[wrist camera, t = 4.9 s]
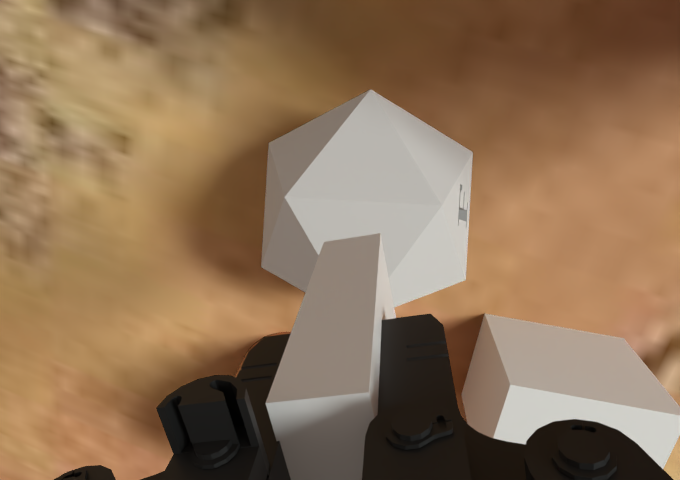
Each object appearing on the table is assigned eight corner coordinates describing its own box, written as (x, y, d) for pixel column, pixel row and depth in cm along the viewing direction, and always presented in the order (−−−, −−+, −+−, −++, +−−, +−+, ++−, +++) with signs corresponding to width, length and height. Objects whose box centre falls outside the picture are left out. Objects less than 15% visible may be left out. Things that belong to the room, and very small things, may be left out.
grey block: (461, 393, 28) (479, 480, 22) (484, 312, 26) (510, 384, 20) (591, 417, 27) (642, 511, 22) (623, 337, 26) (688, 417, 20)
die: (385, 298, 27) (531, 331, 18) (221, 297, 23) (310, 338, 14) (394, 142, 27) (544, 101, 18) (233, 114, 23) (328, 45, 14)
